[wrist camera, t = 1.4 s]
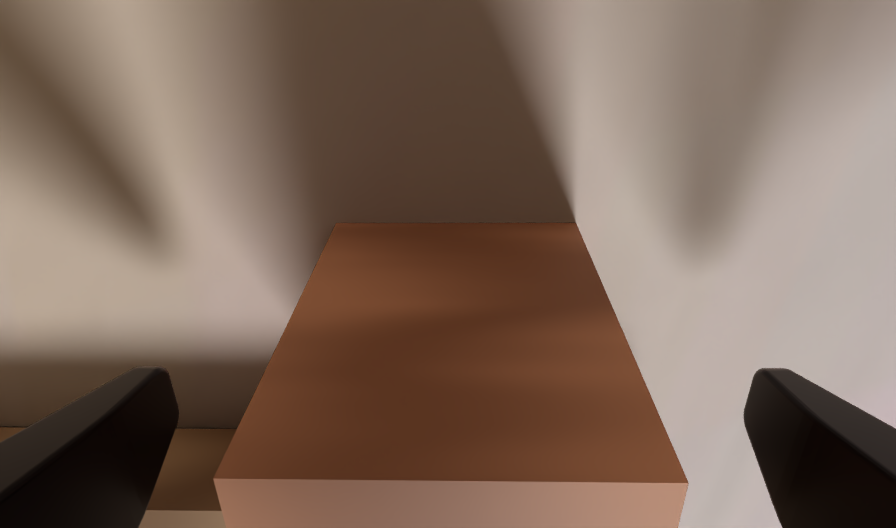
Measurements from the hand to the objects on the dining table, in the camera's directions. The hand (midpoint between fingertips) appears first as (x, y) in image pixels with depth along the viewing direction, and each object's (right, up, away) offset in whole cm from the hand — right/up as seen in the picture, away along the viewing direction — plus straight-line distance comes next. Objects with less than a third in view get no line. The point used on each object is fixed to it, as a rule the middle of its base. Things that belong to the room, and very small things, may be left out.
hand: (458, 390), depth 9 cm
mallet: (0, -2, +3) cm, 4 cm away
